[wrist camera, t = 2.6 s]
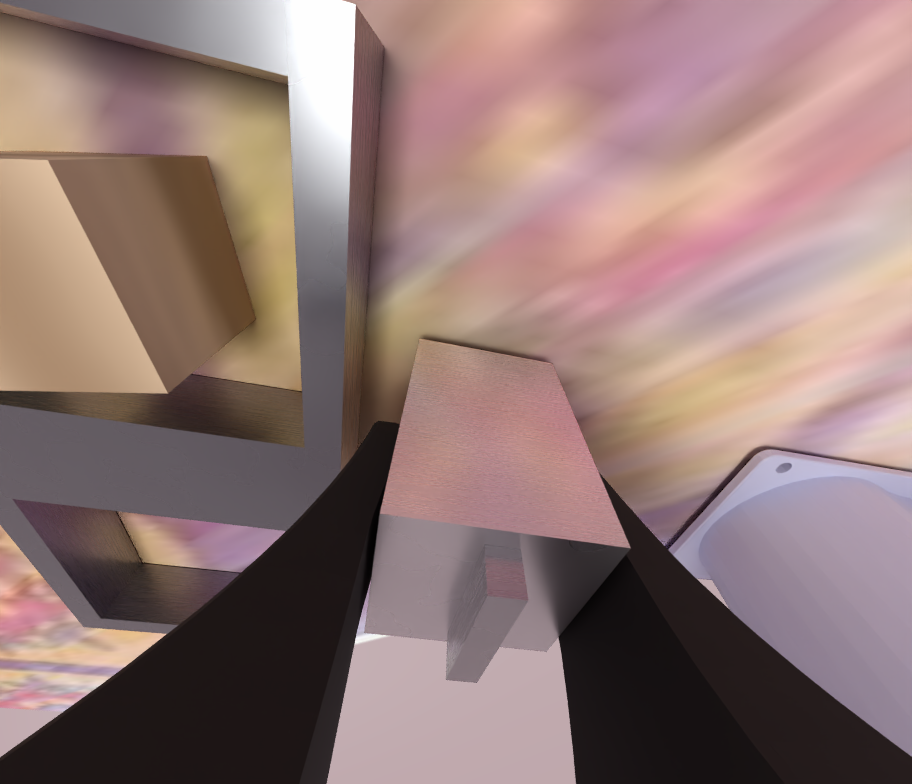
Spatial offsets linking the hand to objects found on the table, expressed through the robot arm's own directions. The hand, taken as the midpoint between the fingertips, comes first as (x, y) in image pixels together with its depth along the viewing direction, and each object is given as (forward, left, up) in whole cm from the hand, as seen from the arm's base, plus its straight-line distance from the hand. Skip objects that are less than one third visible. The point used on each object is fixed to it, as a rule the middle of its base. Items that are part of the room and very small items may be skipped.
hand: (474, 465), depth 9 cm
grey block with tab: (0, 0, -3) cm, 3 cm away
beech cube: (+9, -3, -3) cm, 10 cm away
